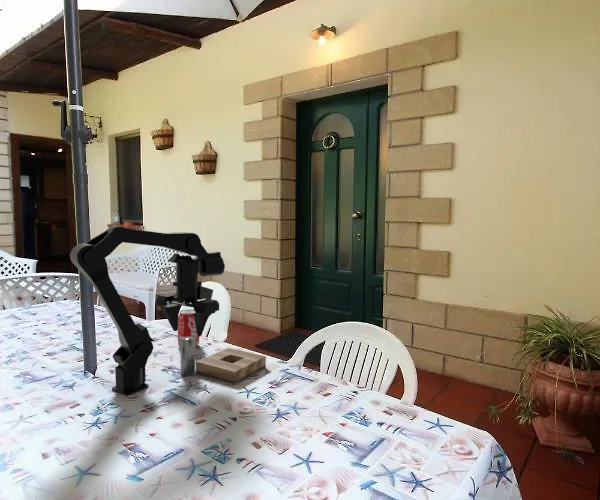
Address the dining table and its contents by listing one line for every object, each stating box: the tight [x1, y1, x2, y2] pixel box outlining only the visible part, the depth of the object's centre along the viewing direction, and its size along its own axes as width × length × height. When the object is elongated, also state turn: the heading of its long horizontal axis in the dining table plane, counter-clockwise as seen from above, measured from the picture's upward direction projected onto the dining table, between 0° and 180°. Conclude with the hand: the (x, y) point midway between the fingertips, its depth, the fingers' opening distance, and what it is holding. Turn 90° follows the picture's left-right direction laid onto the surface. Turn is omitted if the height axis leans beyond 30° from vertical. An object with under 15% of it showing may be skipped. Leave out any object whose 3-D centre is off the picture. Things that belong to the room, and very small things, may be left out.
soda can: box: [177, 309, 200, 348], centre depth 138 cm, size 7×7×12 cm
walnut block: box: [195, 347, 267, 385], centre depth 118 cm, size 14×14×4 cm
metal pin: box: [179, 336, 196, 377], centre depth 115 cm, size 4×4×10 cm
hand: (187, 333), depth 115 cm, fingers open, 9 cm apart
